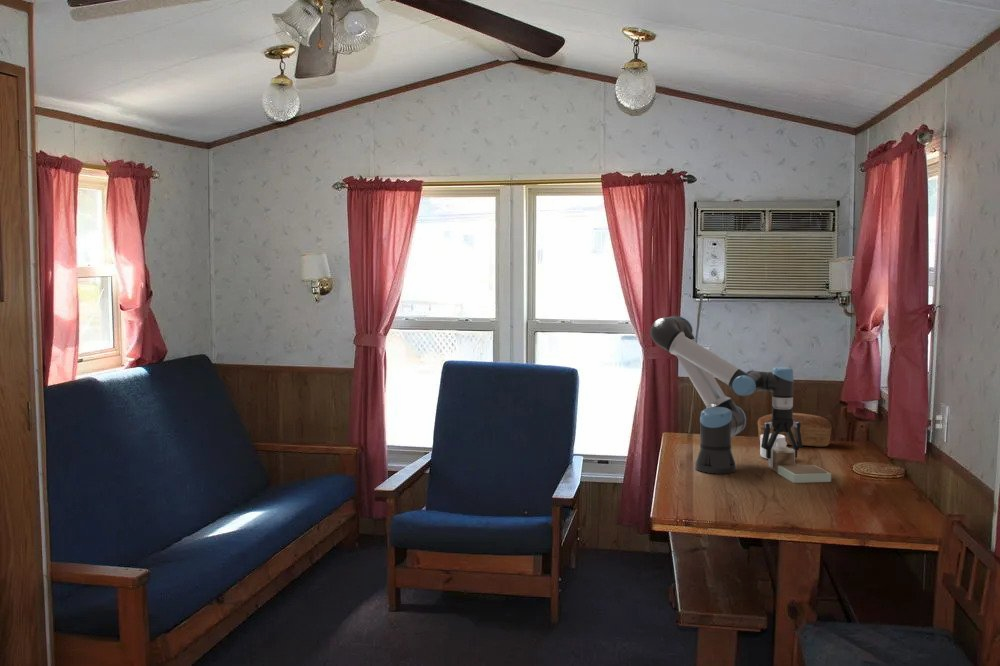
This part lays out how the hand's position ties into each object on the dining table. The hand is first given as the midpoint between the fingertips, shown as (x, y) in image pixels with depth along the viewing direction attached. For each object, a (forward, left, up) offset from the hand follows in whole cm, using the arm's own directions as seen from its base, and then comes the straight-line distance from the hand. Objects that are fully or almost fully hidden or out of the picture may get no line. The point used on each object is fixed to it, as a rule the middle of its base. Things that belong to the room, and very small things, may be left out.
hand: (781, 466), depth 327 cm
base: (+3, -13, -1) cm, 13 cm away
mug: (+5, +19, -2) cm, 20 cm away
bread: (+25, +46, -2) cm, 52 cm away
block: (0, 0, -1) cm, 1 cm away
